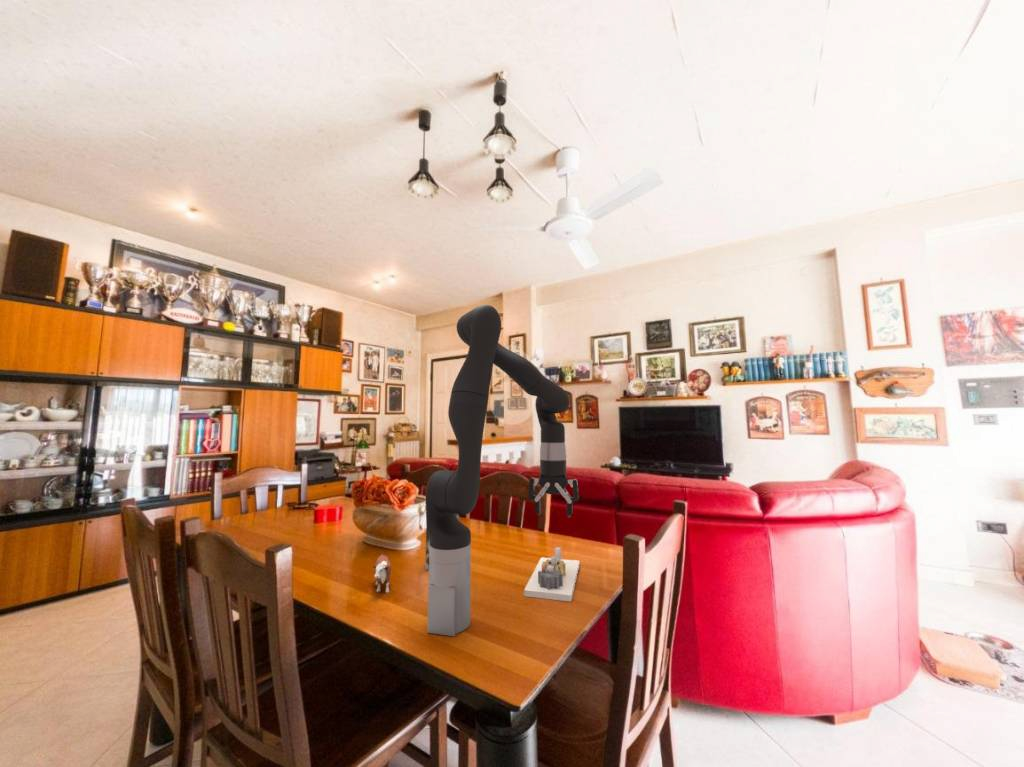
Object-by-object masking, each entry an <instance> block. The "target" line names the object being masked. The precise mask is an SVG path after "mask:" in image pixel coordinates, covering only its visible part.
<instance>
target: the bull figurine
mask: <svg viewBox="0 0 1024 767" xmlns="http://www.w3.org/2000/svg"><path fill="white" fill-rule="evenodd" d="M373 569H374V576H373V577H374V579H375V580H376V581H375V586H376V587H377V588H376V593H380V592H381V583H382V585H383V584H384V583H385V586H386V587H385V593H386V594H389V593H390V587H389V585H390V578H391V572H392V564H391V562H390V560H389V558H388V556H386V555H384V554H381V555H380V556H378V557H377V558H376V561H375V564H374V565H373ZM385 581H386V582H385Z"/></svg>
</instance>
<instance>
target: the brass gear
mask: <svg viewBox="0 0 1024 767" xmlns="http://www.w3.org/2000/svg"><path fill="white" fill-rule="evenodd" d="M543 563H544V564H545V569H547V566H549V565H551V560H549V559H547V561H545V562H544V561H543ZM551 566H554V569H555V570H561V573H563V575H564V576H565V575H566V564H565V563H564V561H560V560H557V565H551Z"/></svg>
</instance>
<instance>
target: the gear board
mask: <svg viewBox="0 0 1024 767" xmlns="http://www.w3.org/2000/svg"><path fill="white" fill-rule="evenodd" d="M547 559H549V560H551V565H557V560H560V561H564V563H565V564H566V575H565V576H564V575H563V573H561V570H555V569H554V566H551V565H549V566H547V569H545V564H544V563H543V561H544V562H545V561H547ZM580 562H581V561H580V560H575V559H563V558H562V548H561V547H558V546H557V547H555V548H554V556H551V557H542V556H541V557H540V559H539V561H538V562H537V565H536V566H535V568H534V571H533V572H532V574H531V576H530V578H529V580H528V581H527V584H526V585H525V588H523V589H524V590H523V593H524V594H523V595H524V596H523V597H527V598H529V597H530V598H537V599H544V600H554V601H563V602H570V603H571V602H572V601H573V596H574V591H575V587H576V584H577V583H576V582H577V579H578V575H577V574H579V571H578V570H580V566H579V565H580ZM575 583H576V584H575Z"/></svg>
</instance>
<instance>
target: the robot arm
mask: <svg viewBox="0 0 1024 767" xmlns="http://www.w3.org/2000/svg"><path fill="white" fill-rule="evenodd" d="M456 332H457V335H458V336H459V339H460V340H461V341H462V342H464V344H466V345H467V346H468V347H469V348H468V351H467V355H466V357H465V359H464V362H463V364H462V366H461V368H460V369H459V372H458V374H457V376H456V378H455V380H454V382H453V384H452V388H451V392H450V397H449V405H448V409H447V410H448V412H447V414H448V419H449V420H448V421H449V424H450V427H451V429H452V432H453V434H454V436H455V439H456V442H457V448H458V461H457V468H456V470H448V469H447V470H445V469H444V470H443V469H442V470H441V469H440V470H437V471H435V472H433V473H432V475H431V476H430V477H429V478H428V482H427V485H426V488H425V520H426V524H425V526H426V527H427V533H428V535H429V539H430V551H429V570H428V589H427V633H430V634H434V635H435V634H437V635H443V636H449V637H455V636H456V635H457V634H460V633H461V632H464V631H465V630H466V629H468V628H469V627H470V625H471V617H472V616H471V603H472V602H471V595H472V594H471V587H472V586H471V585H472V583H471V579H472V578H471V577H472V576H471V574H472V572H471V571H472V569H471V568H472V565H471V563H472V562H471V561H472V560H471V558H472V554H471V553H472V532H471V529H470V528H469V527H468V526H466V525H465V524H464V523H463V522H461V521H460V519H459V520H458V519H457V517H456V516H455V514H459V515H462V516H463V515H468V514H470V513H472V512H473V510H474V509H475V507H476V505H477V501H478V498H479V491H480V480H481V465H482V464H481V461H482V447H483V438H484V429H485V423H486V417H487V413H488V412H487V411H488V405H489V399H490V398H489V397H490V396H489V395H490V387H491V380H492V375H493V368H494V366H496V367H497V368H499V369H500V370H502V371H503V373H505V374H506V375H507V376H509V378H511V379H512V380H513V381H514V383H516V384H517V385H518V386H519V387H520V388H521V389H522V390H523V391H524V392H525V393H526V394H527V395H529V396H532V397H535V398H536V399H535V406H534V407H535V410H536V415H537V421H538V424H539V426H540V447H539V458H540V459H539V464H540V465H539V469H540V470H539V471H540V472H539V478H537V477H536V478H535V477H533V476H532V477H531V478H529V479H528V497H527V498H528V499H529V500H531V501H534V513H536V515H537V516H540V515H541V514H542V502H541V498H543V496H544V495H545V493H546V494H547V495H555V496H556V495H557V496H558V495H561V496H562V497H563V498H564V499H565V501H566V517H567V518H571V516H572V515H573V513H574V512H573V503H575V502H576V503H578V501H579V499H580V495H579V484H578V482H579V481H578V479H577V478H574V479H568V477H567V449H566V436H565V435H566V434H565V433H566V432H565V425H564V424H563V423H562V422H560V421H558V420H557V416H556V414H562V413H564V412H566V411H567V410H568V409H569V408H570V397H569V395H568V393H567V392H566V390H565V389H563V388H562V387H561V386H560V385H558V384H557V383H555V382H554V381H552V379H549V378H547V377H545V375H544V374H543V373H542V372H541V371H540V369H538V368H537V367H536V366H535V365H534V364H533V363H532V362H531V361H530V360H528V359H527V358H525V357H524V356H522V355H520V354H517V353H516V352H514V351H512V350H510V349H508V348H506V347H505V346H503V345H502V344H500V343H499V340H500V337H501V332H502V318H501V316H500V313H499V312H498V310H497V309H496V307H494V306H492V305H490V304H482V305H479V306H478V305H477V306H476V307H475V308H473V309H471V310H469V311H467V312H466V313H465V314H463V315H461V317H459V319H458V320H457V323H456ZM538 483H539V485H540V487H541V488H542V489H540V491H539V492H538V493H537V495H536V494H535V489H536V486H537V484H538ZM568 484H569V485H570V488H572V492H573V493H572V494H573V497H572V496H571V495H570V493H569V491H568V490H567V489H566V487H567V486H568ZM426 527H425V528H426Z"/></svg>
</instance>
